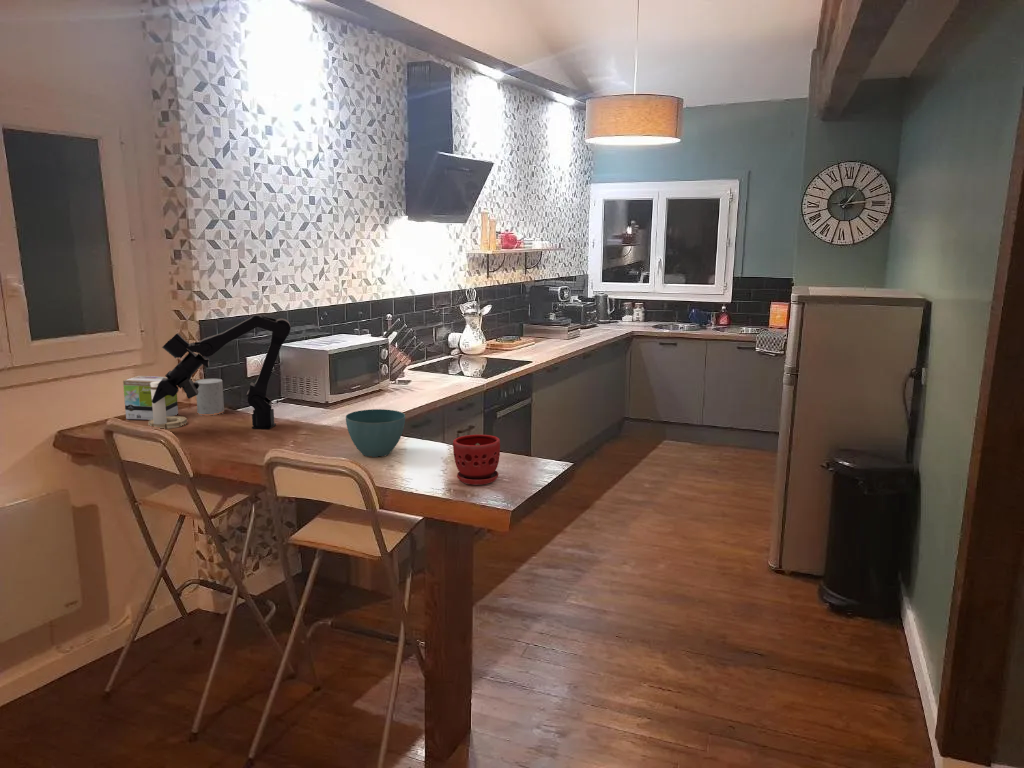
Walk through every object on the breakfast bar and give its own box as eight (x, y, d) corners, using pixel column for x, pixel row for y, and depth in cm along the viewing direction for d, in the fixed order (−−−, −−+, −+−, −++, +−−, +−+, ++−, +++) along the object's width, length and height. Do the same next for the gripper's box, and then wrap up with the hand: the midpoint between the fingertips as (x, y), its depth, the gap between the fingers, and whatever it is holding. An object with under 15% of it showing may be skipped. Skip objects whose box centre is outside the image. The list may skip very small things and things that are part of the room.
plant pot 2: (499, 472, 214) (499, 433, 211) (500, 488, 201) (500, 445, 198) (454, 472, 213) (454, 432, 211) (452, 487, 200) (452, 445, 198)
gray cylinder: (208, 417, 273) (206, 384, 271) (191, 413, 278) (189, 381, 275) (229, 411, 281) (228, 380, 279) (213, 408, 286) (211, 377, 283)
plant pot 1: (380, 442, 243) (379, 406, 241) (417, 453, 232) (417, 415, 229) (334, 453, 230) (333, 415, 227) (372, 466, 218) (371, 425, 216)
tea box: (125, 420, 267) (121, 380, 264) (140, 413, 276) (136, 375, 273) (166, 421, 266) (162, 381, 263) (179, 414, 276) (176, 375, 273)
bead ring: (192, 421, 267) (192, 416, 266) (175, 429, 255) (175, 424, 255) (160, 419, 267) (160, 415, 267) (142, 428, 256) (142, 423, 255)
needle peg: (169, 421, 252) (166, 381, 249) (162, 424, 248) (159, 383, 245) (157, 421, 252) (154, 381, 249) (151, 424, 248) (147, 383, 245)
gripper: (203, 389, 243) (169, 423, 242) (209, 378, 260) (177, 410, 260) (175, 366, 239) (141, 401, 238) (183, 357, 257) (151, 389, 256)
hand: (153, 401), depth 248 cm, fingers closed on needle peg, 4 cm apart
